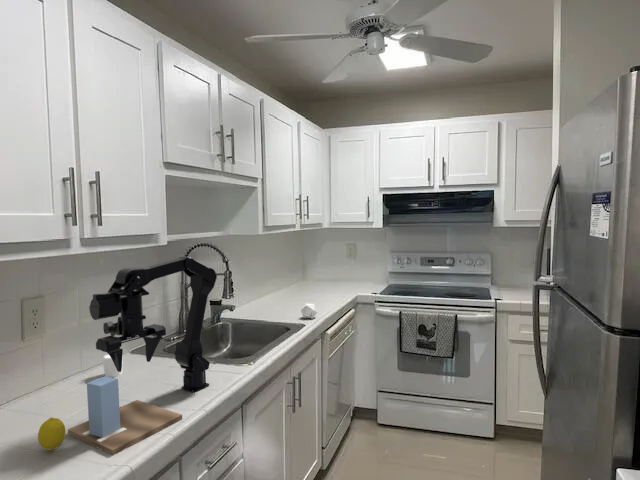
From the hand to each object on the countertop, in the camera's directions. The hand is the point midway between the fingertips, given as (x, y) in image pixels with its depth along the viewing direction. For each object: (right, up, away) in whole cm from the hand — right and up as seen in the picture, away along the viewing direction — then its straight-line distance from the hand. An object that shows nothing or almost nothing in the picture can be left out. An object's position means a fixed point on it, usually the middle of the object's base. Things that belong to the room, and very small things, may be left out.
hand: (134, 366), depth 119 cm
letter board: (+2, -13, -8) cm, 16 cm away
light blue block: (-1, -12, -14) cm, 18 cm away
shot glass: (-21, -12, +30) cm, 39 cm away
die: (+47, -7, +109) cm, 119 cm away
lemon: (-11, -14, -19) cm, 27 cm away
